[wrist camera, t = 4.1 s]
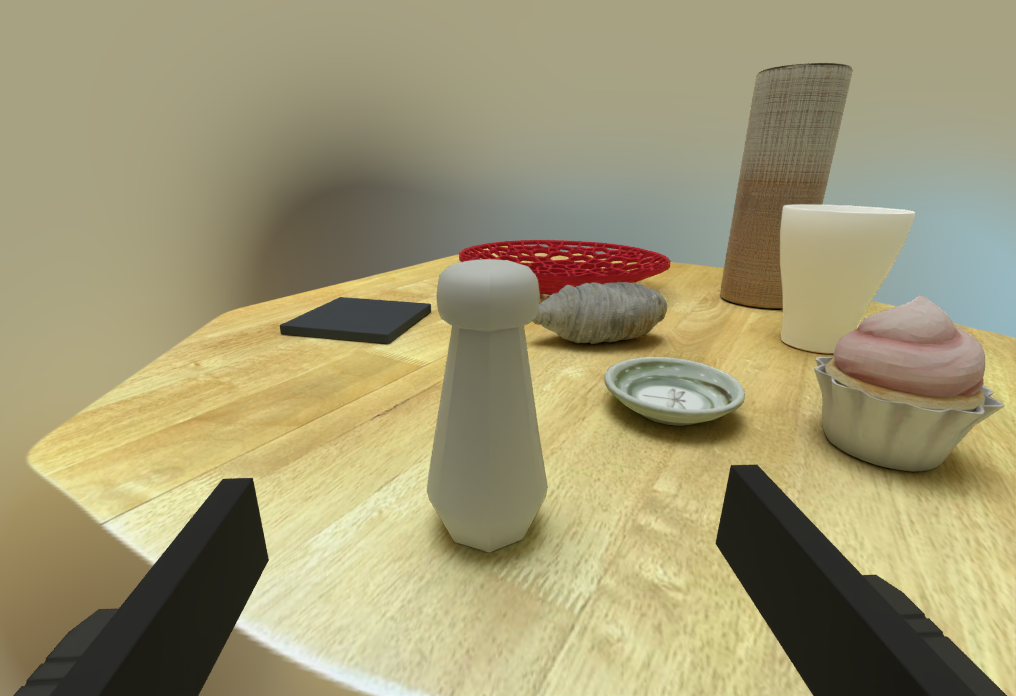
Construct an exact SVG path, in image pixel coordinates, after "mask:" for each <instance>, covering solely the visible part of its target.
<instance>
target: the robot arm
mask: <svg viewBox="0 0 1016 696" xmlns="http://www.w3.org/2000/svg"><path fill="white" fill-rule="evenodd" d="M716 545H717V546H718V548H719V550H720V551H721V553H722V554H723V556H724V557H725V559H726V560H727V562H728V564H729V565H730V567H731V568H732V570H733V571H734V573H735V574H736V576H737V578H738V579H739V581H740V582H741V584H742V585H743V587H744V588H745V590H746V592H747V593H748V595H749V596H750V598H751V599H752V601H753V602H754V604H755V606H756V607H757V609H758V610H759V612H760V613H761V615H762V617H763V618H764V620H765V621H766V623H767V624H768V626H769V627H770V629H771V631H772V632H773V634H774V635H775V637H776V638H777V640H778V641H779V643H780V645H781V646H782V648H783V649H784V651H785V652H786V654H787V655H788V657H789V659H790V660H791V662H792V663H793V665H794V666H795V668H796V669H797V671H798V673H799V674H800V676H801V677H802V679H803V680H804V682H805V683H806V685H807V687H808V688H809V690H810V691H811V693H812V694H813V696H1007V695H1006V694H1005V693H1004V692H1003V691H1002V690H1001V689H1000V688H999V687H998V686H997V685H996V684H995V683H994V682H993V681H992V680H991V679H990V678H989V677H988V676H987V675H986V674H985V673H984V672H983V671H982V670H981V669H980V668H979V667H978V666H976V665H975V664H974V663H973V662H972V661H971V660H970V659H969V658H968V657H967V656H966V655H965V654H964V653H963V652H962V651H961V650H960V649H959V648H958V647H957V646H956V645H955V644H954V643H953V642H952V641H951V640H950V639H949V638H948V637H945V636H944V635H943V632H942V631H941V630H940V629H939V628H938V627H937V626H936V625H935V624H934V623H933V622H932V621H931V620H930V619H929V618H926V617H925V614H924V613H923V612H922V611H921V610H920V609H919V608H918V607H917V606H916V605H915V604H914V603H913V602H912V601H911V600H910V599H909V598H908V597H907V596H906V595H905V594H904V593H903V592H901V591H900V590H898V589H897V588H895V587H894V586H892V585H891V584H889V583H888V582H886V581H885V580H883V579H882V578H880V577H879V576H877V575H862V574H861V573H860V572H859V571H858V570H857V569H856V568H855V567H854V566H853V565H852V564H851V563H850V562H849V561H848V560H847V559H846V558H845V557H844V556H843V555H842V553H841V552H840V551H839V550H838V549H837V548H836V547H835V546H834V545H833V544H832V543H831V542H830V541H829V540H828V539H827V538H826V537H825V536H824V535H823V533H822V532H821V531H820V530H819V529H818V528H817V527H816V526H815V525H814V524H813V523H812V522H811V521H810V520H809V519H808V518H807V517H806V516H805V515H804V513H803V512H802V511H801V510H800V509H799V508H798V507H797V506H796V505H795V504H794V503H793V502H792V501H791V500H790V499H789V498H788V497H787V496H786V495H785V494H784V492H783V491H782V490H781V489H780V488H779V487H778V486H777V485H776V484H775V483H774V482H773V481H772V480H771V479H770V478H769V477H768V476H767V475H766V474H765V472H764V471H763V470H762V469H761V468H760V467H759V466H758V465H731V468H730V473H729V478H728V483H727V488H726V493H725V498H724V503H723V508H722V513H721V518H720V523H719V528H718V534H717V539H716ZM268 561H269V559H268V554H267V549H266V543H265V538H264V533H263V528H262V523H261V518H260V512H259V507H258V502H257V497H256V492H255V487H254V482H253V478H235V479H222V481H221V482H220V483H219V484H218V486H217V487H216V488H215V489H214V491H213V492H212V493H211V494H210V496H209V497H208V498H207V499H206V501H205V502H204V503H203V504H202V506H201V507H200V508H199V509H198V511H197V512H196V513H195V514H194V516H193V517H192V518H191V519H190V521H189V522H188V523H187V524H186V526H185V527H184V528H183V529H182V531H181V532H180V533H179V534H178V536H177V537H176V538H175V539H174V541H173V542H172V543H171V544H170V546H169V547H168V548H167V549H166V551H165V552H164V553H163V554H162V556H161V557H160V558H159V559H158V561H157V562H156V563H155V564H154V566H153V567H152V568H151V569H150V570H149V572H148V573H147V574H146V575H145V577H144V578H143V579H142V580H141V582H140V583H139V584H138V586H137V587H136V588H135V589H134V590H133V592H132V593H131V594H130V595H129V597H128V598H127V599H126V600H125V602H124V603H123V604H122V605H121V607H120V608H119V609H99V610H97V611H96V612H95V613H93V614H92V615H91V616H89V617H88V618H87V619H85V620H84V621H83V622H81V623H80V624H79V625H77V626H76V627H75V628H73V629H72V630H71V631H69V632H68V634H67V635H66V636H65V637H64V638H63V639H62V640H61V642H60V643H59V644H58V645H57V646H56V647H55V648H54V650H53V651H52V652H51V653H50V654H49V655H48V657H47V658H46V661H45V663H44V664H41V665H40V666H39V667H38V668H37V669H36V670H35V671H34V673H33V674H32V675H31V676H30V677H29V678H28V680H27V683H26V685H25V686H22V687H21V688H20V689H19V690H18V691H17V692H16V693H15V694H14V696H198V695H199V693H200V691H201V689H202V688H203V686H204V684H205V682H206V680H207V678H208V676H209V674H210V672H211V670H212V668H213V666H214V664H215V663H216V661H217V659H218V657H219V655H220V653H221V651H222V649H223V647H224V645H225V643H226V641H227V639H228V638H229V636H230V634H231V632H232V630H233V628H234V626H235V624H236V622H237V620H238V618H239V616H240V614H241V613H242V611H243V609H244V607H245V605H246V603H247V601H248V599H249V597H250V595H251V593H252V591H253V589H254V588H255V586H256V584H257V582H258V580H259V578H260V576H261V574H262V572H263V570H264V568H265V566H266V564H267V562H268Z"/></svg>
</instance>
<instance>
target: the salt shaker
mask: <svg viewBox="0 0 1016 696" xmlns="http://www.w3.org/2000/svg"><path fill="white" fill-rule="evenodd" d="M539 299H540V292H539V285H538V279H537V277H536V275H535V274H534V273H533V272H532V270H531V269H530V268H529V267H527V266H524V265H521V264H518V263H515V262H512V261H505V260H492V259H484V260H471V261H464V262H460V263H457V264H454V265H451V266H448V267H447V268H446V269H445V270H444V271H443V272H442V273H441V274H440V276H439V281H438V288H437V305H438V312H439V314H440V317H441V319H443V320H444V321H446V322H447V323H449V324H450V325H452V331H451V337H450V343H449V349H448V356H447V362H446V368H445V375H444V381H443V387H442V393H441V400H440V406H439V412H438V418H437V425H436V431H435V437H434V444H433V450H432V456H431V462H430V469H429V475H428V485H427V493H428V497H429V500H430V502H431V503H432V505H433V507H434V508H435V510H436V512H437V513H438V515H439V516H440V518H441V520H442V522H443V523H444V525H445V527H446V528H447V530H448V532H449V534H450V535H451V537H452V539H453V541H454V542H456V543H459V544H463V545H466V546H469V547H472V548H476V549H479V550H482V551H485V552H488V553H490V552H492V551H495V550H497V549H500V548H502V547H505V546H507V545H510V544H512V543H515V542H517V541H520V540H523V538H524V536H525V534H526V533H527V531H528V529H529V527H530V525H531V523H532V521H533V520H534V518H535V516H536V514H537V512H538V510H539V508H540V506H541V504H542V503H543V501H544V499H545V497H546V493H547V488H548V486H547V479H546V473H545V467H544V461H543V455H542V449H541V443H540V437H539V431H538V424H537V417H536V409H535V402H534V395H533V388H532V381H531V374H530V366H529V359H528V352H527V345H526V338H525V331H524V325H527V324H529V323H530V322H531V321H533V320H534V319H535V318H536V316H537V313H538V310H539Z"/></svg>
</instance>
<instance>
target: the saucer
mask: <svg viewBox="0 0 1016 696" xmlns="http://www.w3.org/2000/svg"><path fill="white" fill-rule="evenodd" d="M605 384H606V387H607V388H608V390H609V391H610V392H611V393H612V394H613V395H614V396H616V397H617V398H618V400H619V401H621V402H622V403H623V404H624V405H625V406H627V407H628V408H630V409H632V410H633V411H635V412H637V413H639V414H641V415H642V416H644V417H645V418H647V419H650V420H652V421H655V422H658V423H662V424H667V425H675V426H684V425H692V424H695V423H700V422H706V421H710V420H714V419H717V418H719V417H722V416H724V415H725V414H728V413H731V412H733V411H735V410H736V409H738V408H739V407H740V406H741V405H742V403H743V402H744V399H745V391H744V389H743V387H742V385H741V384H740V383H739V382H738V381H737V380H736V379H735V378H733V377H732V376H730V375H729V374H727V373H725V372H723V371H721V370H718V369H716V368H713V367H711V366H708V365H705V364H701V363H697V362H693V361H689V360H683V359H676V358H666V357H643V358H634V359H629V360H625V361H621V362H619V363H617V364H615V365H613V366H611V367H610V368H609V369H608V370H607V372H606V374H605Z"/></svg>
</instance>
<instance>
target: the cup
mask: <svg viewBox="0 0 1016 696" xmlns="http://www.w3.org/2000/svg"><path fill="white" fill-rule="evenodd" d="M915 215H916V213H915V212H914V211H909V210H901V209H891V208H877V207H863V206H844V205H785V206H783V211H782V219H781V228H780V269H781V279H782V293H783V319H782V329H781V340H782V341H783V342H784V343H785V344H787V345H789V346H792V347H794V348H797V349H801V350H805V351H809V352H815V353H824V354H834V350H835V347H836V344H837V343H838V341H839V340H840V339H841V338H842V337H843V336H844V335H846V334H848V333H850V332H852V331H854V330H856V328H857V325H858V324H859V322H860V320H861V318H862V316H863V315H864V313H865V311H866V309H867V307H868V306H869V304H870V302H871V300H872V298H873V297H874V296H875V294H876V292H877V291H878V289H879V288H880V286H881V285H882V283H883V282H884V280H885V278H886V277H887V275H888V273H889V271H890V270H891V267H892V266H893V264H894V262H895V260H896V258H897V256H898V254H899V252H900V251H901V249H902V247H903V245H904V243H905V241H906V238H907V235H908V233H909V230H910V228H911V225H912V222H913V220H914V217H915Z"/></svg>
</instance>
